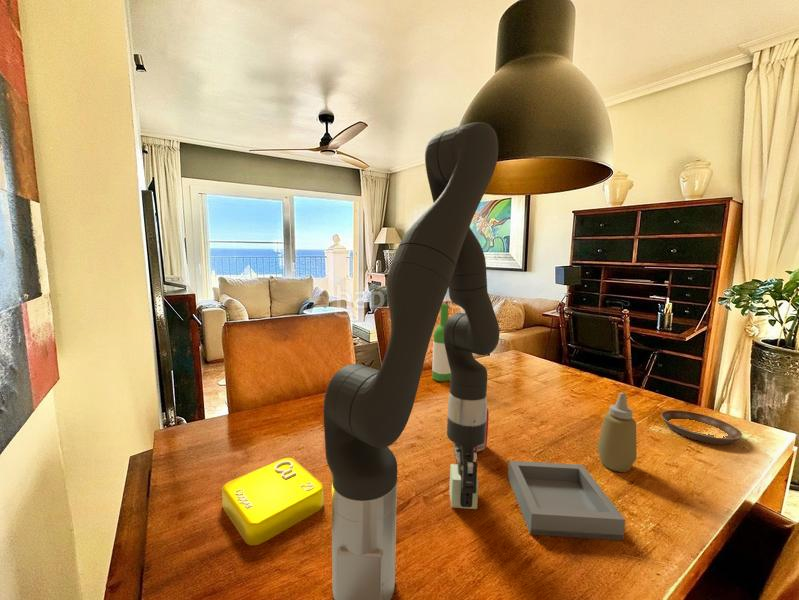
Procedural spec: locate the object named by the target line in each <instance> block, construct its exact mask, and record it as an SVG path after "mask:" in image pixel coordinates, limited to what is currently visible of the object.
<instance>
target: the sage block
mask: <svg viewBox="0 0 799 600" xmlns="http://www.w3.org/2000/svg"><path fill="white" fill-rule="evenodd" d="M461 470H462V471H463V468H462V467H461ZM479 482H480V480H479V475H477V481H476V493H473V498H472V506H471V507H462V506H461V505H460V493H461V487H460V475H458V471H457V464H456V463H455V464H454V463H450V467H449V498H450V506H451V508H452V509H453V508H454V509H456V508H457V509H470V510H471V509H473V510H477V509H478V500H479ZM467 483H471V482H467Z"/></svg>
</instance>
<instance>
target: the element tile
mask: <svg viewBox="0 0 799 600" xmlns="http://www.w3.org/2000/svg"><path fill="white" fill-rule="evenodd" d="M221 497H222V500H221V501H222V508H223V509H222V510H224V512H225V513H226V516H227V517H228V518H229V520H230V521H231V523H232V524H233V526H234V527H235V529H236V531H237V532H238V533H239V535H240V536H241V538H242V540H243V541H244V542H245V543H246V545H249V546H258V545H261V544H264V543H265V542H267V541H269V540H270V539H272V538H274V537H275V536H277V535H279V534H281V533H283V532H284V531H286V530H288V529H290V528H291V527H293V526H294V525H296V524H298V523H299V522H301V521H303V520H305V519H307V518H308V517H310V516H313V515H314V514H315V513H317V512H319V511H320V510H321V509H323V507H324V503H325V501H324V497H325V496H324V484H323V483H322V482H321V481H320V480H319V478H317V477H316V476H314V475H313V474H312V473H311V472H310V471H308V469H306V468H305V467H304V465H301V463H299V462H298V461H297V460H296V459H294V458H292V457H285V458H281V459H279V460H276V461H274V462H272V463H269V464H267V465H265V466H262V467H260V468H258V469H254V470H253V471H250V472H248V473H246V474H244V475H241V476H239V477H237V478H234V479H232V480H229V481H227V482H226V483H225V484H224V485H223V486H222V489H221Z"/></svg>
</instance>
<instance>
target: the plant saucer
mask: <svg viewBox="0 0 799 600" xmlns="http://www.w3.org/2000/svg"><path fill="white" fill-rule="evenodd" d="M661 418H662V419H663V422H664V423H665V424H666V426H668V428H669V429H671V430H672V431H673V430H674V431H673V432H675V433H677V434H678V433H679V435H680V434H681V435H680V436H683V437H685V436H686V437H685V438H687V437H688V438H687V439H690V438H691V440H693V439H694V440H693V441H696V440H698V441H697V442H700V441H701V443H704V442H705V444H709V443H710V445H716V444H718V446H720V445H721V446H725V445H726V444H727V445H729V444H733V443H735V442H737V441H738V440H740V439H741V438H742V437H743V433H742V431H741V430H739V429H738V428H737V427H735V426H734V425H732V424H731V423H727V422H726V421H723V420H720V419H719V418H715V417H712V416H709V415H706V414H702V413H697V412H692V411H688V410H679V409H677V410H676V409H671V410H664V411H662V412H661ZM671 419H689V420H695V421H698V422H702V423H705V424H708V425H711V426H714V427H716V428H719V429H720V430H722V431H724V432H725V433H727V434H728V436H725V437H726V438H725V437H724V436H723V438H716V437H714V435H710V434H708V435H706V434H701V433H697V432H692V431H689V429H684V427H682V426H681V425H680V426H676V425H674V424H672V423H670V422H668V421H669V420H671Z"/></svg>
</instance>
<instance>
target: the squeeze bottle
mask: <svg viewBox="0 0 799 600" xmlns="http://www.w3.org/2000/svg"><path fill="white" fill-rule="evenodd" d="M633 413H634V412H633V409H632V408H630V407H629V406H628V401H627V394H626V393H624V392H619V395H618V396H617V399H616V402H615V404H610V405H609V410H608V412H607V413H605V414H604V415H603V419H602V420H603V421H602V424H601V428H600V432H599V433H600V434H599V437H598V441H597V445H596V448H597V453H598V456H599V460H600V462H601V464H602V465H603V466H604V467H605V468H607V469H608V470H611V471H615V472H619V473H626V472H627V473H628V472H629V471H630V470H631V468H632V467H633V464H634V463H635V462H636V460H637V421H636V420H635V419H634V418H633Z"/></svg>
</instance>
